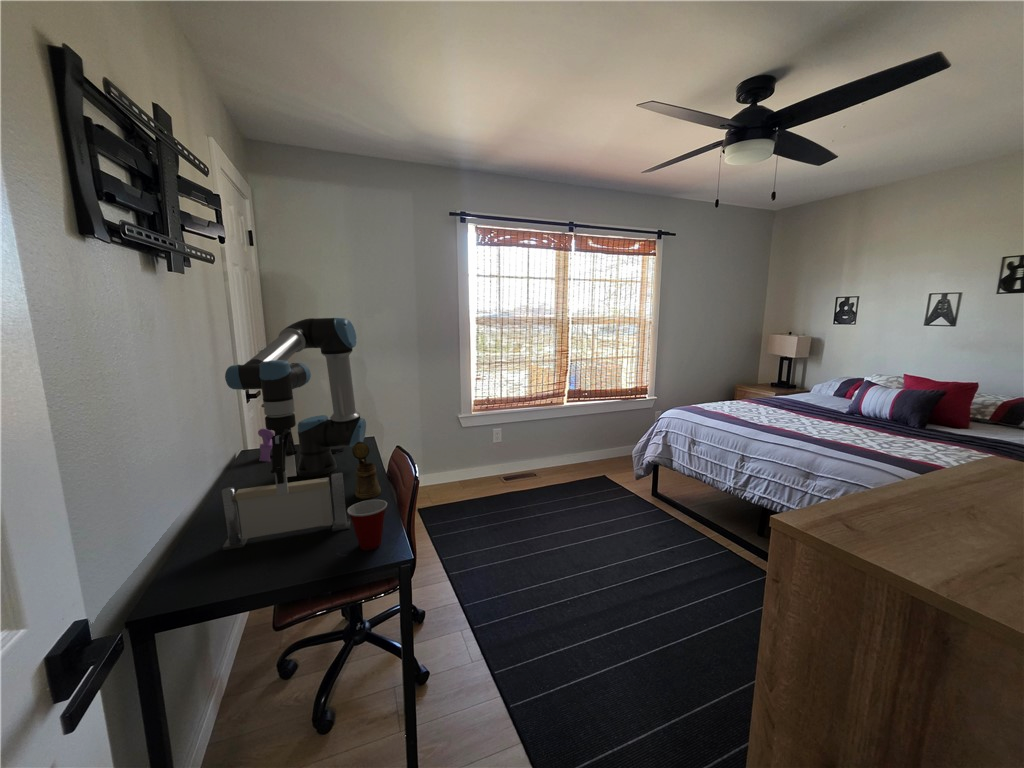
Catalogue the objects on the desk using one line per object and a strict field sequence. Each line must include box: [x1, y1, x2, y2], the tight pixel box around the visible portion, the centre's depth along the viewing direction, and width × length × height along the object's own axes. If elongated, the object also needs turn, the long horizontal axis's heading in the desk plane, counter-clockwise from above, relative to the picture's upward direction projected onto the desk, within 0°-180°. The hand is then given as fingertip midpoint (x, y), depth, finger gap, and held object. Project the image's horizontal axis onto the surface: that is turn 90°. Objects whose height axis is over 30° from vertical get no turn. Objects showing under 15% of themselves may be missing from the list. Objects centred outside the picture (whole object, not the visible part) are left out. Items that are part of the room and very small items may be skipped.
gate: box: [235, 477, 334, 539], centre depth 120 cm, size 3×24×14 cm, turn 110°
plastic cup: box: [346, 499, 388, 551], centre depth 115 cm, size 11×11×12 cm
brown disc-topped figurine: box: [352, 441, 382, 500], centre depth 149 cm, size 9×14×18 cm, turn 33°
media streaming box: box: [330, 446, 345, 454], centre depth 199 cm, size 15×15×3 cm
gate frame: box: [221, 472, 351, 551], centre depth 120 cm, size 5×34×17 cm, turn 110°
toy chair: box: [257, 428, 275, 463], centre depth 187 cm, size 8×9×15 cm
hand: (287, 484), depth 119 cm, fingers open, 13 cm apart
